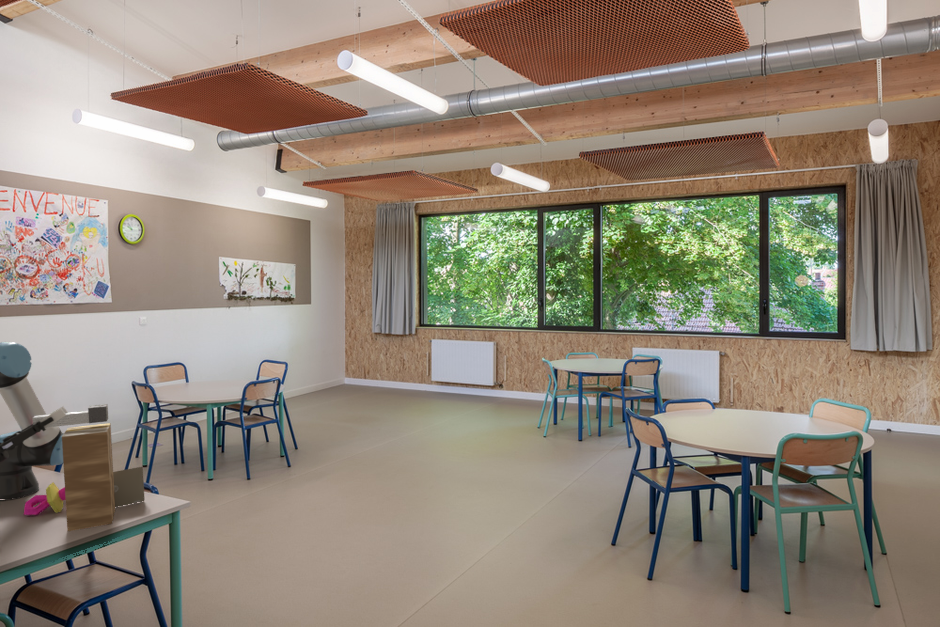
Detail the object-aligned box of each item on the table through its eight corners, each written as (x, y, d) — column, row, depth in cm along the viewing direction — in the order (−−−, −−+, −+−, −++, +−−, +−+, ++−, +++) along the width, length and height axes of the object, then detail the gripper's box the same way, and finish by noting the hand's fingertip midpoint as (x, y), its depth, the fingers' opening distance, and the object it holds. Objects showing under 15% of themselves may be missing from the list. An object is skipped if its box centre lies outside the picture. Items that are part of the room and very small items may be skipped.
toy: (32, 510, 207) (17, 489, 201) (89, 487, 214) (76, 467, 208) (30, 530, 199) (15, 509, 193) (89, 505, 206) (76, 485, 200)
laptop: (139, 493, 219) (137, 459, 219) (144, 502, 209) (143, 466, 209) (81, 505, 208) (79, 469, 208) (84, 515, 198) (82, 477, 198)
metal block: (35, 426, 190) (34, 410, 190) (108, 418, 199) (107, 403, 199) (32, 429, 186) (31, 413, 185) (106, 421, 195) (106, 406, 195)
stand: (73, 517, 196) (68, 427, 195) (115, 510, 202) (110, 423, 200) (67, 531, 185) (61, 436, 183) (112, 523, 190) (106, 431, 189)
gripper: (2, 458, 191) (75, 415, 200) (-12, 472, 176) (68, 424, 185) (-14, 440, 189) (61, 397, 198) (-29, 452, 174) (52, 405, 183)
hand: (64, 410), depth 191 cm, fingers closed on metal block, 3 cm apart
